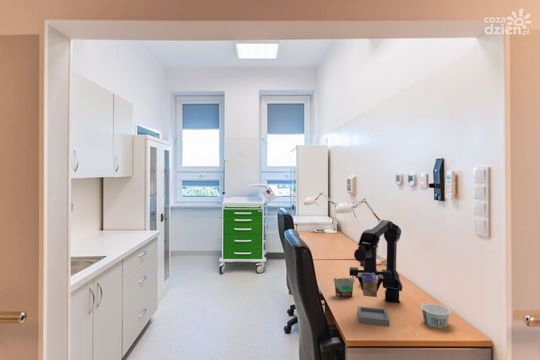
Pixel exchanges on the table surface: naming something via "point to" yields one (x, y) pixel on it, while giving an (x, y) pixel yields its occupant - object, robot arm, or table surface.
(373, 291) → the cube
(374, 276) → the pencil case
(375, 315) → the tray
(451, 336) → the table surface
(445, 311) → the food container
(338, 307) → the table surface
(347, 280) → the food container
